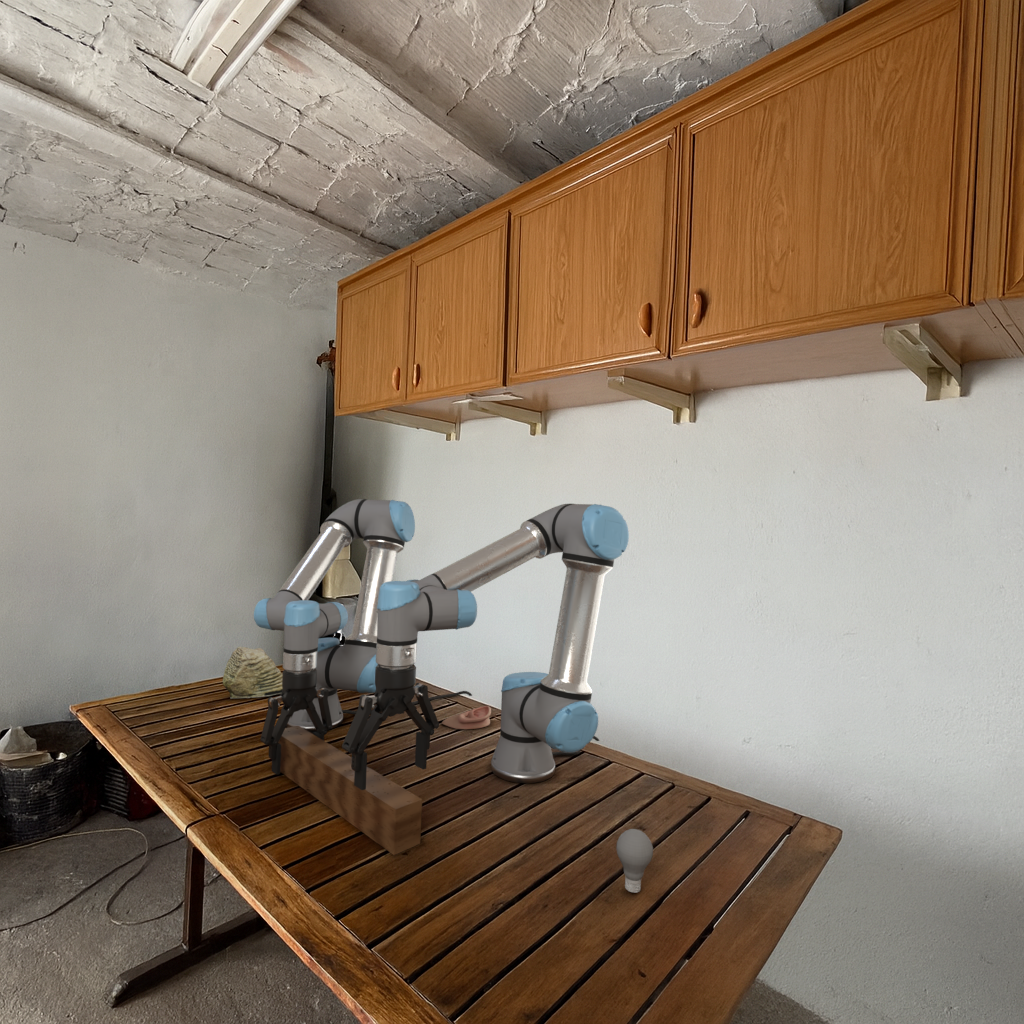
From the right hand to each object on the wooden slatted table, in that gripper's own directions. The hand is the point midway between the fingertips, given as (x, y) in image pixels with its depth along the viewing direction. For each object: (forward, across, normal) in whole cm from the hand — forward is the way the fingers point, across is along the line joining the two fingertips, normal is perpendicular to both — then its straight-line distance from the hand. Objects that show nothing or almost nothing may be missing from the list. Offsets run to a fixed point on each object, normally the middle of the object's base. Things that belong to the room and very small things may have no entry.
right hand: (391, 776), depth 119 cm
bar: (+11, 0, +19) cm, 22 cm away
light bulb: (+11, +21, -40) cm, 47 cm away
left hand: (+10, 0, +37) cm, 39 cm away
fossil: (+11, +16, +96) cm, 98 cm away
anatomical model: (+11, +51, +36) cm, 64 cm away
